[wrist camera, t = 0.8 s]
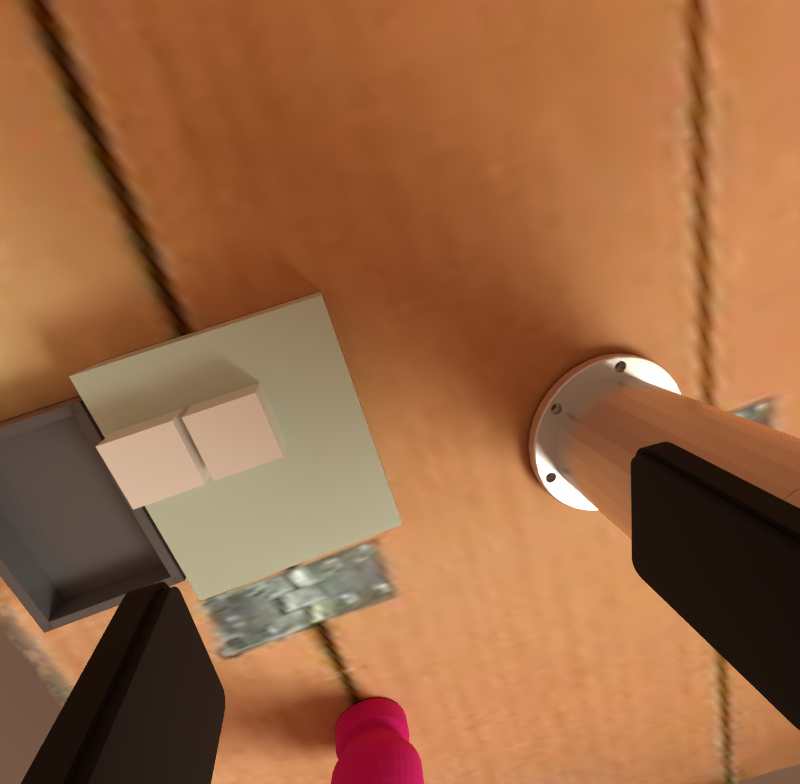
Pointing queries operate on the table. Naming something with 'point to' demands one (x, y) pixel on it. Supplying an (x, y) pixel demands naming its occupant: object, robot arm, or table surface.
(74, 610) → the box
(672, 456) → the robot arm
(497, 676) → the table surface
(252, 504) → the beige flat slab
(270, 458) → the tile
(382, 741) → the pepper mill
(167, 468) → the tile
